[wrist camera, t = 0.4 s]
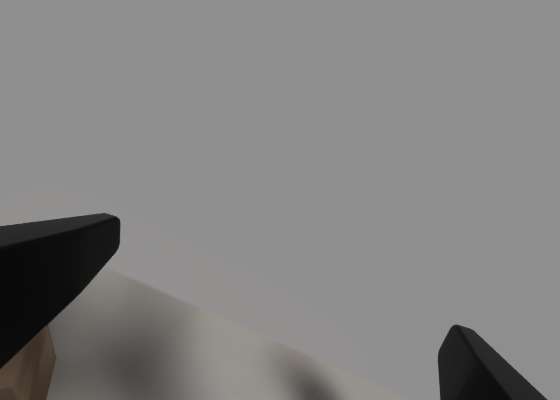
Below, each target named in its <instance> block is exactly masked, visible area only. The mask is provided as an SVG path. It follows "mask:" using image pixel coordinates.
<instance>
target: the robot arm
mask: <svg viewBox="0 0 560 400" xmlns="http://www.w3.org/2000/svg"><path fill="white" fill-rule="evenodd" d="M119 244H120V219H119V218H118V217H116V216H113V215H110V214H107V213H101V214H93V215H86V216H77V217H70V218H62V219H54V220H46V221H39V222H30V223H23V224H15V225H7V226H0V369H1V368H2V367H3V366H4V365H6V364H7V363H8V362H9V361H10V360H11V359H12V358H13V357H14V356H15V355H16V354H17V353H18V352H19V351H20V350H21V349H22V348H23V347H24V346H26V345H27V344H28V343H29V342H30V341H31V340H32V339H33V338H34V337H35V336H36V335H37V334H38V333H39V332H40V331H41V330H42V329H43V328H44V327H45V326H47V325H48V324H49V323H50V322H51V321H52V320H53V319H54V318H55V317H56V316H57V315H58V314H59V313H60V312H61V311H62V310H63V309H64V308H65V307H66V306H68V305H69V304H70V303H71V302H72V301H73V300H74V299H75V298H76V297H77V296H78V295H79V294H80V293H81V292H82V291H83V290H84V288H85V287H86V286H87V285H88V284H89V283H90V282H91V281H92V279H93V278H94V277H95V276H96V275H97V274H98V272H99V271H100V270H101V269H102V268H103V267H104V265H105V264H106V263H107V262H108V261H109V260H110V258H111V257H112V256H113V255H114V254H115V253H116V251H117V250H118V248H119ZM438 369H439V384H440V399H441V400H547V399H546V398H545V397H544V396H543V395H542V394H541V393H540V392H539V391H537V390H536V389H535V388H534V387H533V386H532V385H531V384H530V383H529V382H528V381H527V380H526V379H525V378H524V377H523V376H522V375H520V374H519V373H518V372H517V371H516V370H515V369H514V368H513V367H512V366H511V365H510V364H509V363H508V362H507V361H506V360H505V359H503V358H502V357H501V356H500V355H499V354H498V353H497V352H496V351H495V350H494V349H493V348H492V347H490V345H489V344H488V343H486V342H485V341H484V340H483V339H482V338H481V337H480V336H479V335H478V334H477V333H476V332H475V331H474V330H472V329H470V328H466V327H463V326H460V325H453V326H452V327H451V328H450V330H449V332H448V334H447V336H446V338H445V340H444V342H443V343H442V345H441V347H440V350H439V353H438Z"/></svg>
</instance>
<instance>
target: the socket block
mask: <svg viewBox="0 0 560 400" xmlns="http://www.w3.org/2000/svg"><path fill="white" fill-rule="evenodd" d="M55 358H56V356H55V352H54V348H53V344H52V341H51V337H50V333H49V329H48V325H47V326H45V327H44V328H43V329H42V330H41V331H40V332H39V333H38V334H37V335H36V336H35V337H34V338H33V339H32V340H31V341H30V342H29V343H28V344H27V345H26V346H24V347H23V348H22V349H21V350H20V351H19V352H18V353H17V354H16V355H15V356H14V357H13V358H12V359H11V360H10V361H9V362H8V363H7V364H6V365H4V366H3V367H2V368H1V369H0V400H46V397H47V392H48V388H49V384H50V380H51V375H52V371H53V367H54V362H55Z"/></svg>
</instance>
